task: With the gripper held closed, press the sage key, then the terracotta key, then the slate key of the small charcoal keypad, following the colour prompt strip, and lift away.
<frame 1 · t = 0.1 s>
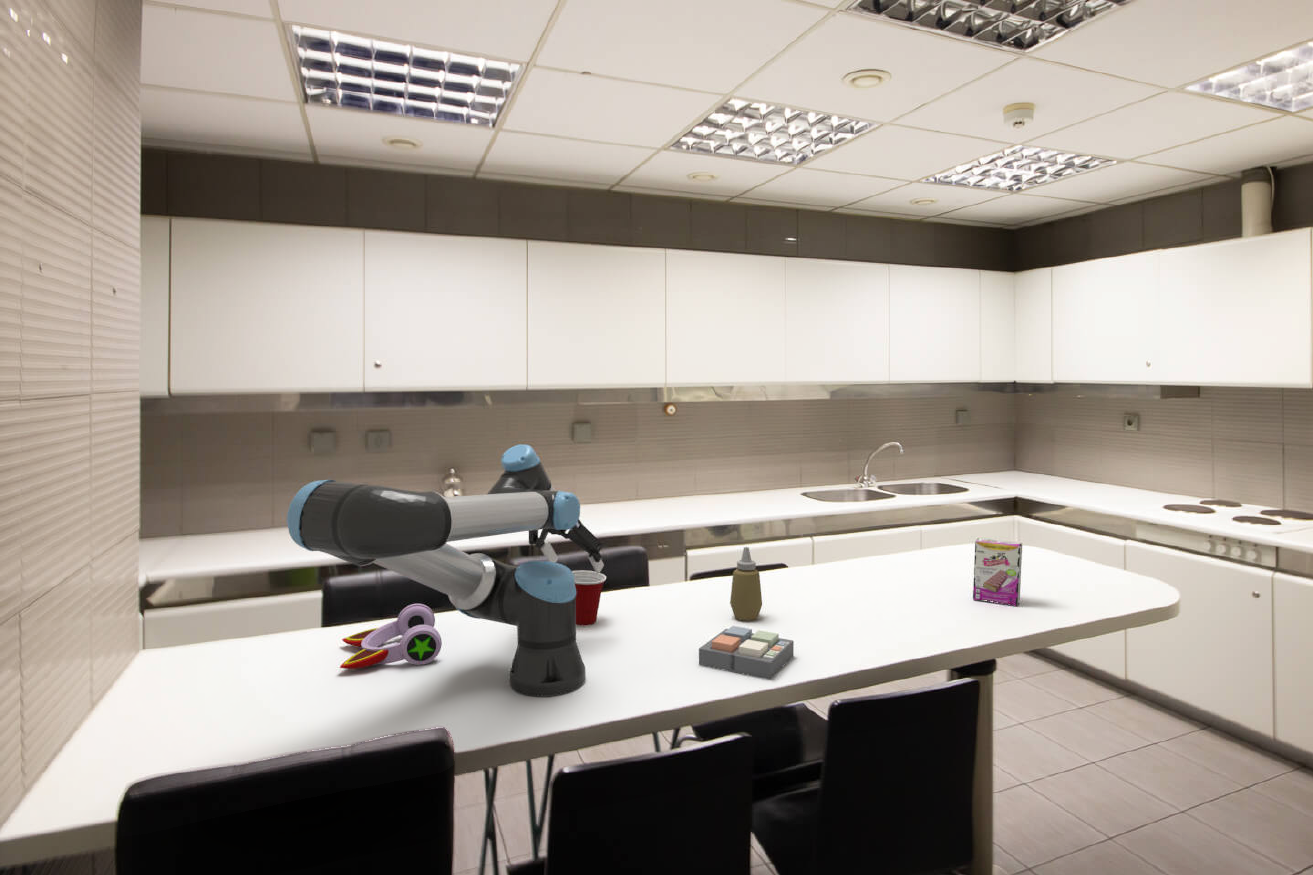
hand: (577, 565, 178), 15 cm above the table, tool tilted 35°, fingers open, 13 cm apart
key cream: (753, 651, 153), point 3 cm above the table, slide at 0.0 cm
candy bar box: (996, 602, 197), on the table
key slate: (738, 637, 161), point 3 cm above the table, slide at 0.0 cm
squeeze bottle: (746, 618, 185), on the table
key terracotta: (726, 646, 156), point 3 cm above the table, slide at 0.0 cm
headphones: (391, 655, 163), on the table
key sage: (764, 641, 158), point 3 cm above the table, slide at 0.0 cm
plastic cup: (585, 622, 183), on the table
keypad: (746, 660, 157), on the table
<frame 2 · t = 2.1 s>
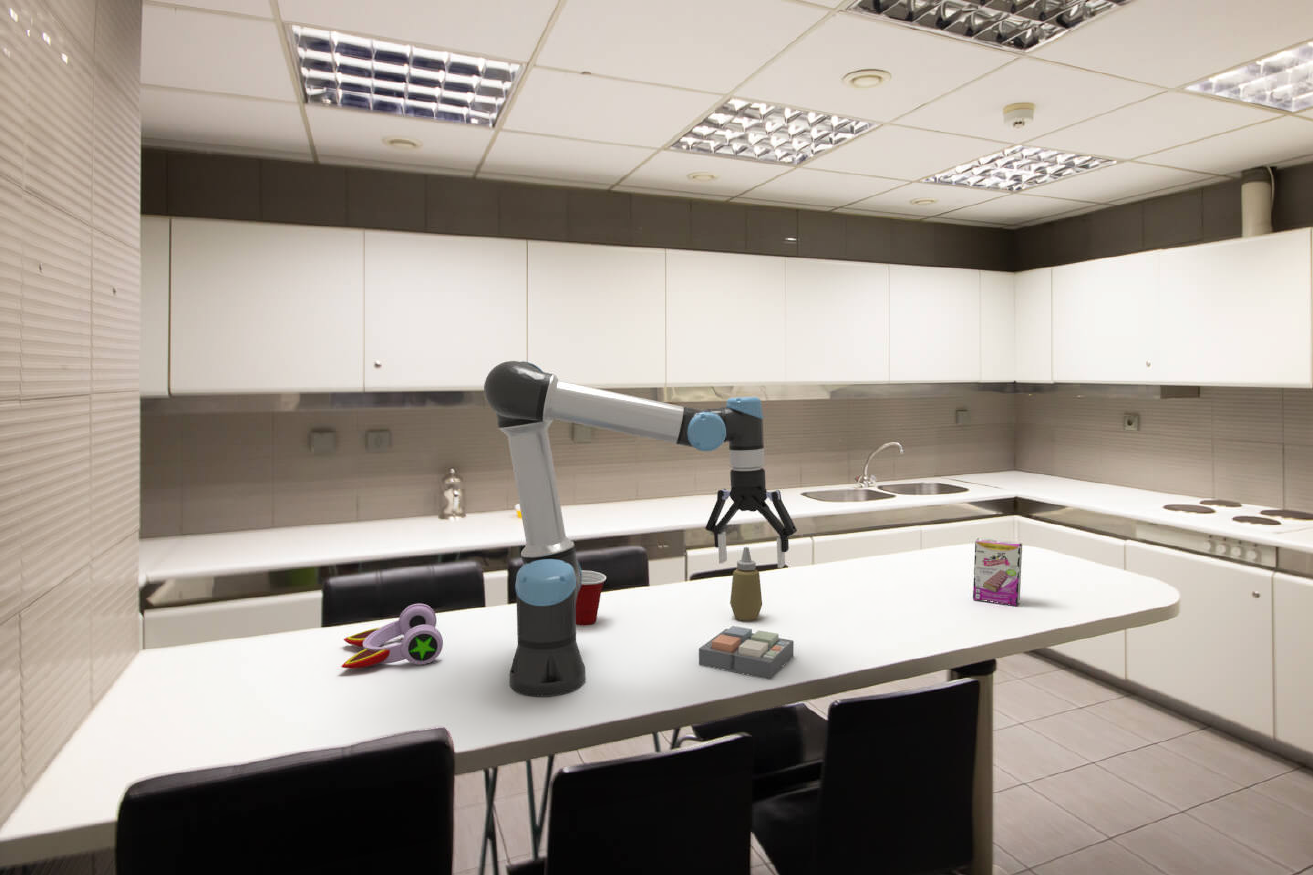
hand: (751, 564, 160), 20 cm above the table, tool pointing down, fingers open, 13 cm apart
nothing on the table moved.
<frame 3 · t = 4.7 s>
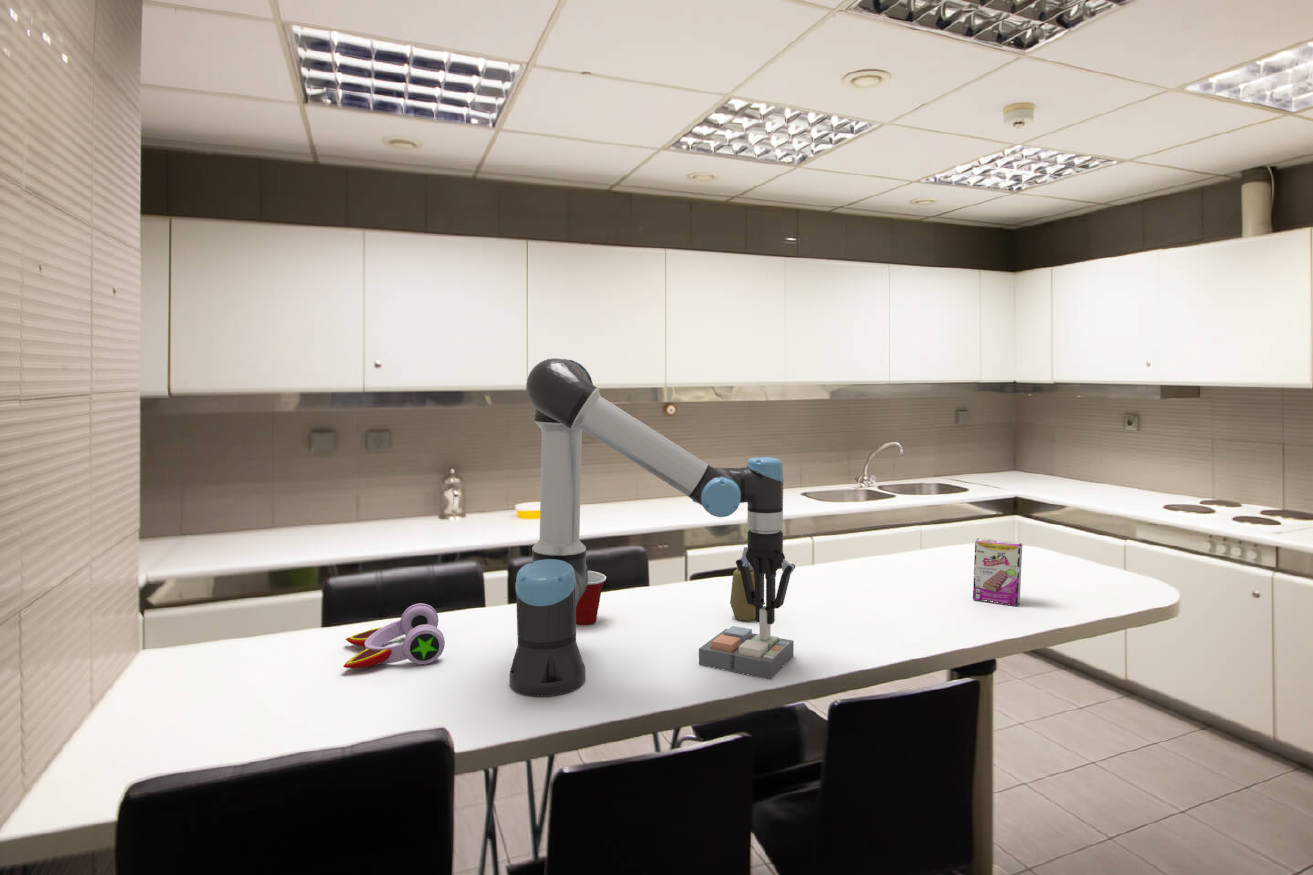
hand: (765, 637, 158), 5 cm above the table, tool pointing down, fingers closed
key sage: (764, 645, 158), point 3 cm above the table, slide at 0.7 cm, touching gripper
everything else where it was.
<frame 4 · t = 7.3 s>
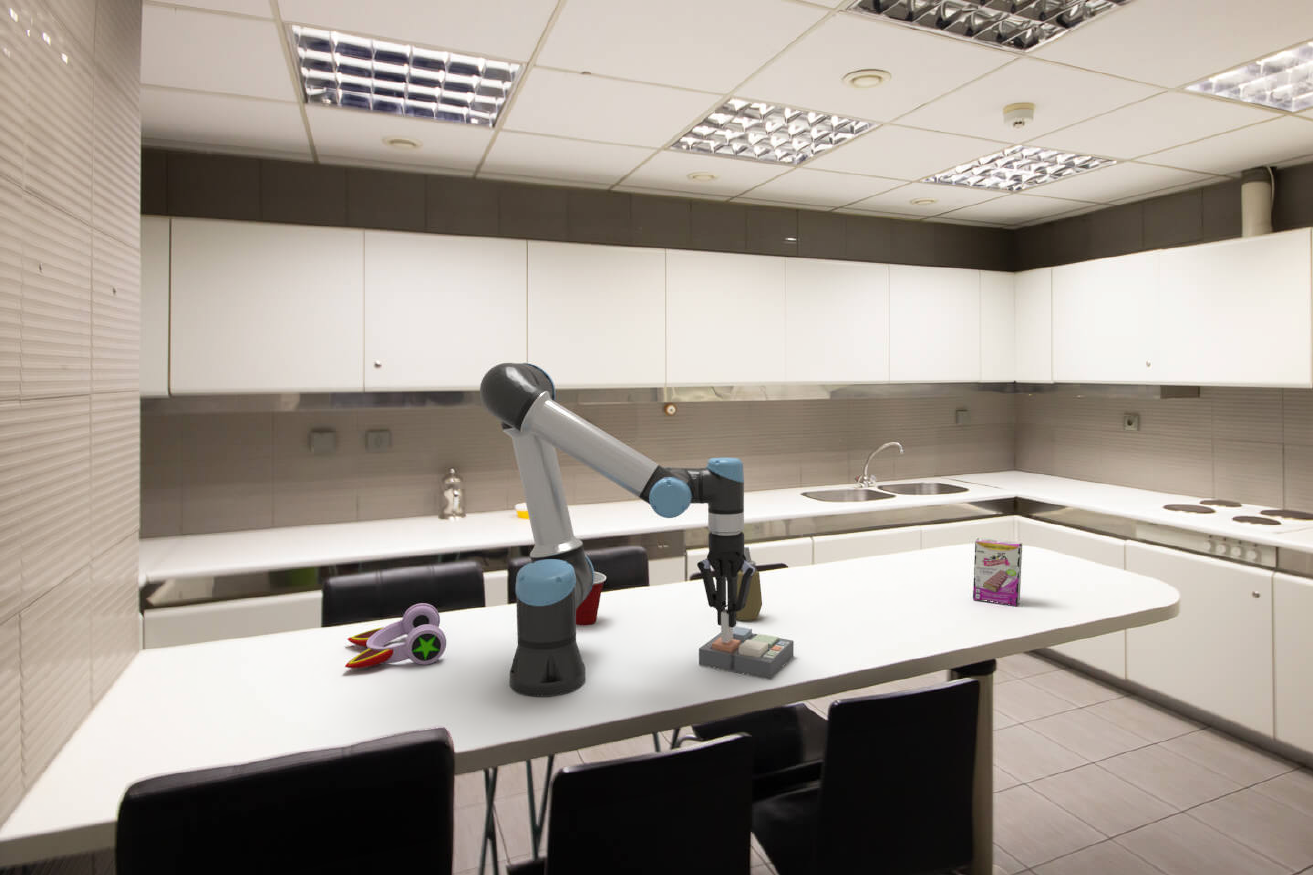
hand: (727, 640, 156), 5 cm above the table, tool pointing down, fingers closed
key terracotta: (726, 648, 156), point 3 cm above the table, slide at 0.5 cm, touching gripper
key sage: (764, 645, 158), point 3 cm above the table, slide at 0.8 cm
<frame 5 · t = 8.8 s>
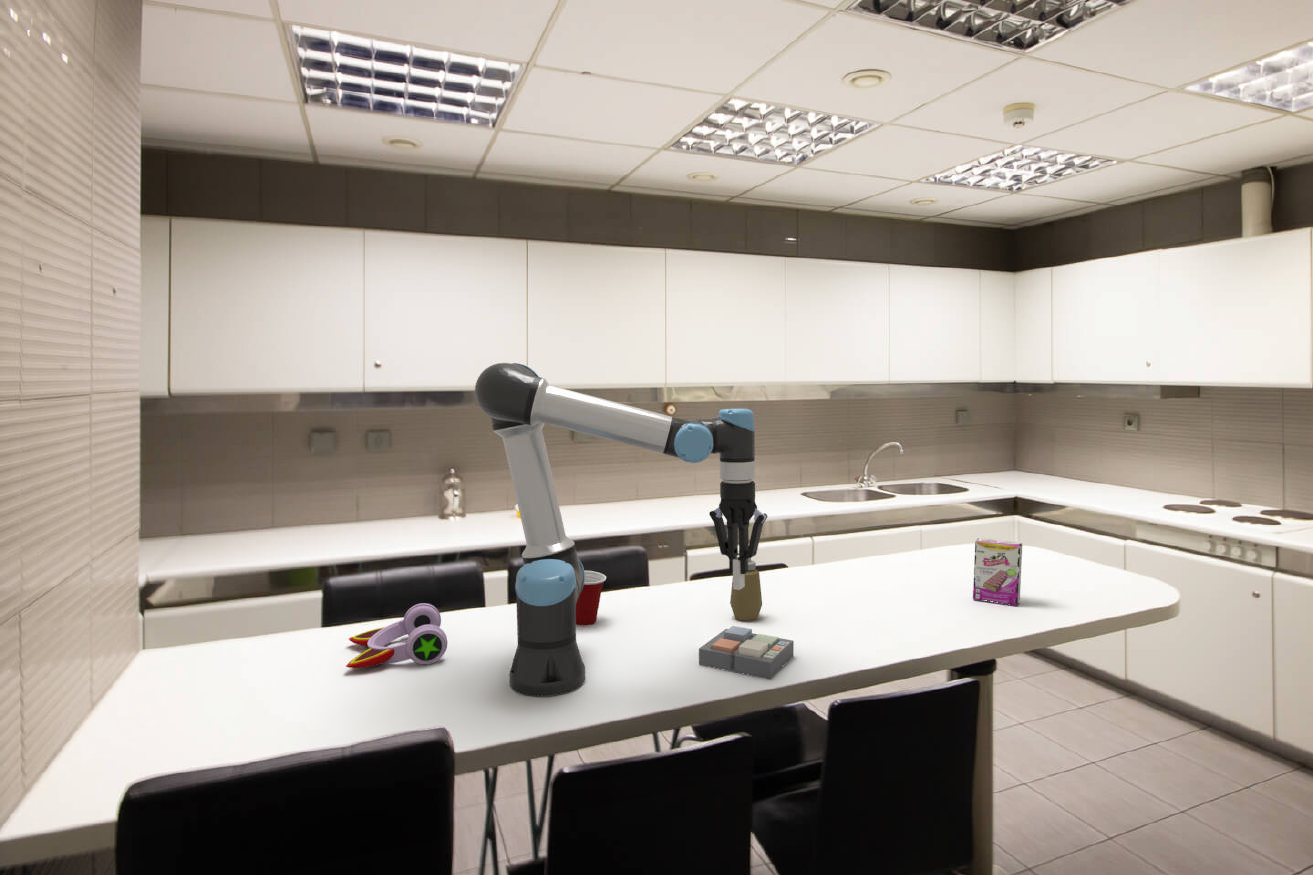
hand: (738, 587, 159), 15 cm above the table, tool pointing down, fingers closed
key terracotta: (726, 650, 156), point 3 cm above the table, slide at 0.8 cm
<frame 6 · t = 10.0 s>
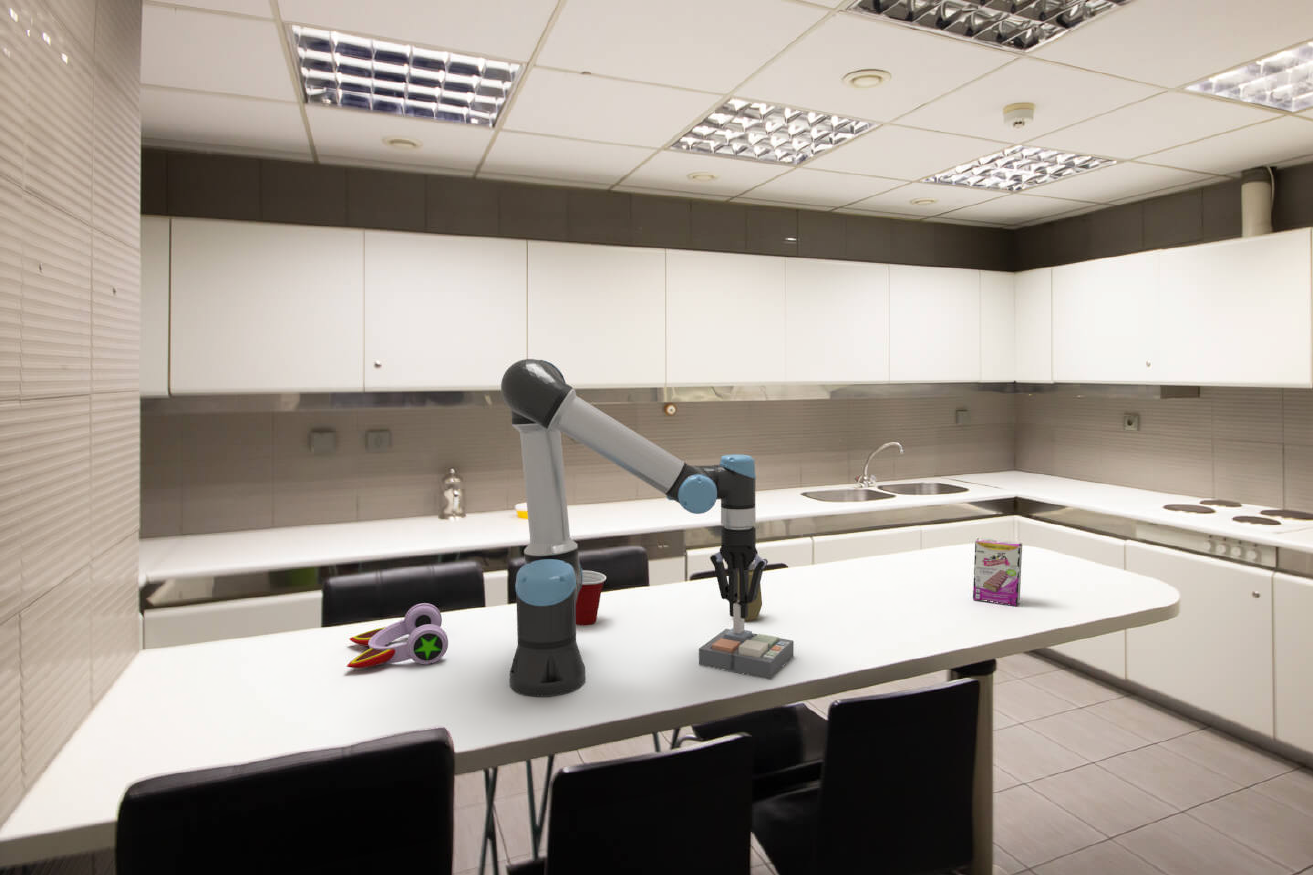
hand: (738, 631, 161), 5 cm above the table, tool pointing down, fingers closed
key slate: (738, 639, 161), point 3 cm above the table, slide at 0.5 cm, touching gripper
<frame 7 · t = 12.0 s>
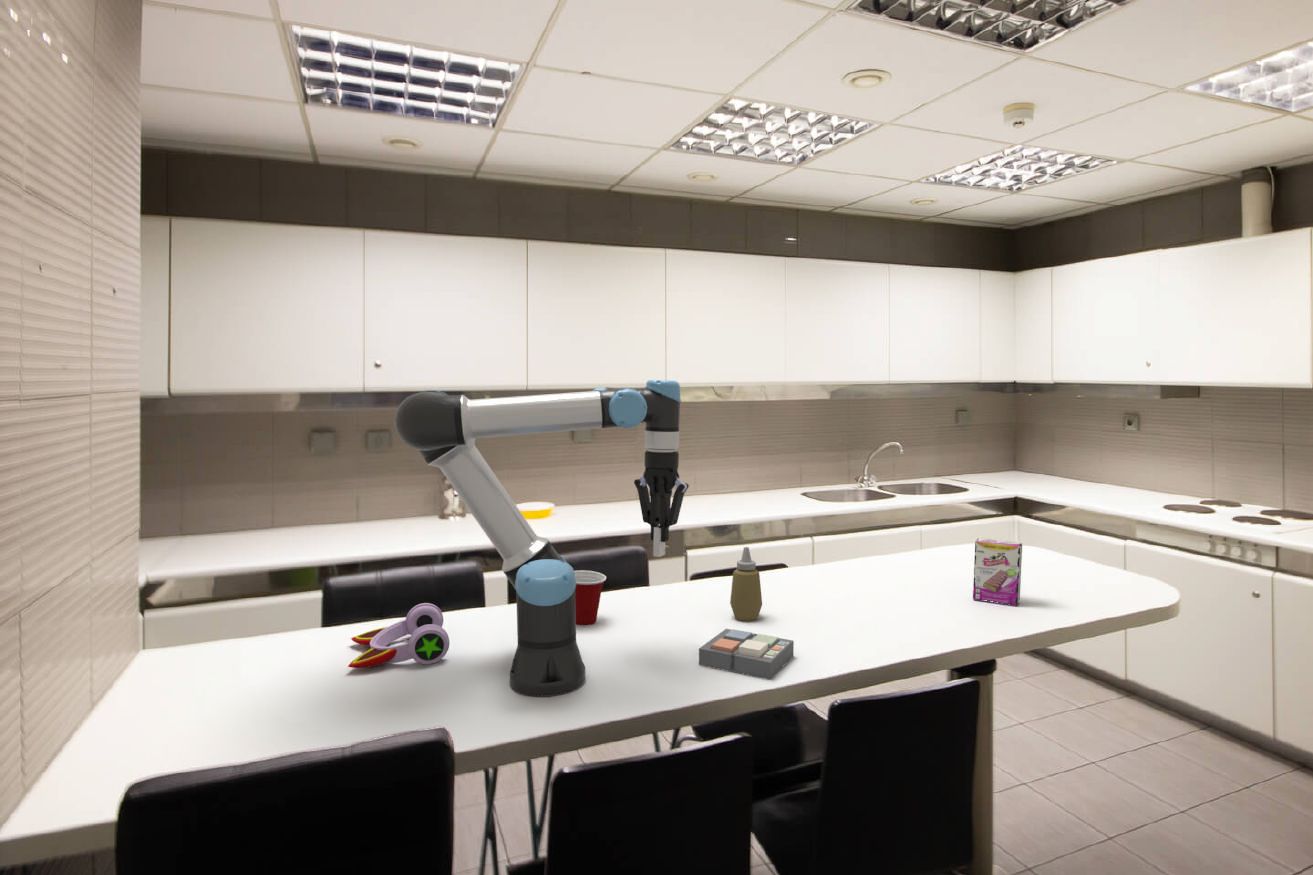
hand: (659, 555, 163), 21 cm above the table, tool pointing down, fingers closed
key slate: (738, 640, 161), point 3 cm above the table, slide at 0.8 cm
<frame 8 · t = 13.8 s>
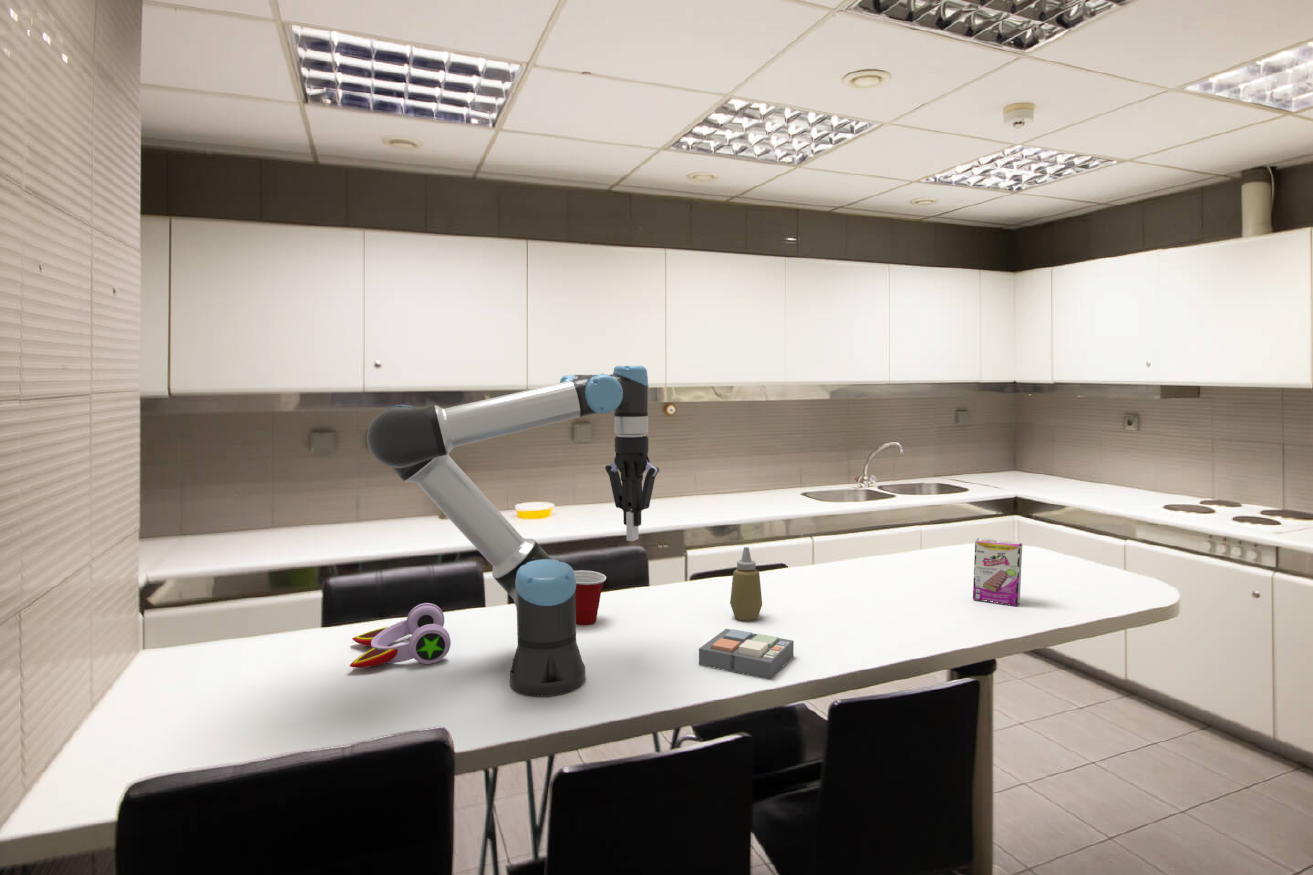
hand: (632, 539, 164), 24 cm above the table, tool pointing down, fingers closed
at the end: key sage slide at 0.8 cm; key terracotta slide at 0.8 cm; key slate slide at 0.8 cm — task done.
